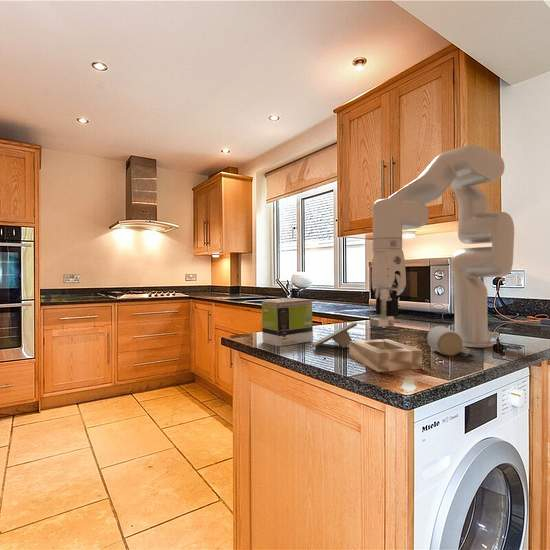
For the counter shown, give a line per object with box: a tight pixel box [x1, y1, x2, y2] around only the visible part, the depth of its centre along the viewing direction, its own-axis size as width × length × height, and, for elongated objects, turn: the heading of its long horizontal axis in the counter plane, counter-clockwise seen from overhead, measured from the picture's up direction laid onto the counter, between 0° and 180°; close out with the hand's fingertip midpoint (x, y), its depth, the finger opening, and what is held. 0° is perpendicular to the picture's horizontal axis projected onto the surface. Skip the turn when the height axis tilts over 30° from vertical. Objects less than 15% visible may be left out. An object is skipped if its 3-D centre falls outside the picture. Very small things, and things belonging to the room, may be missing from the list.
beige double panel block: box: [312, 321, 358, 349], centre depth 115 cm, size 16×9×15 cm
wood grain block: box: [369, 289, 395, 327], centre depth 96 cm, size 4×4×10 cm
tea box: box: [261, 298, 314, 347], centre depth 125 cm, size 15×10×15 cm, turn 124°
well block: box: [348, 338, 423, 373], centre depth 96 cm, size 12×16×4 cm
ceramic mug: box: [426, 325, 471, 357], centre depth 106 cm, size 11×8×8 cm
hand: (386, 314), depth 96 cm, fingers closed on wood grain block, 4 cm apart
